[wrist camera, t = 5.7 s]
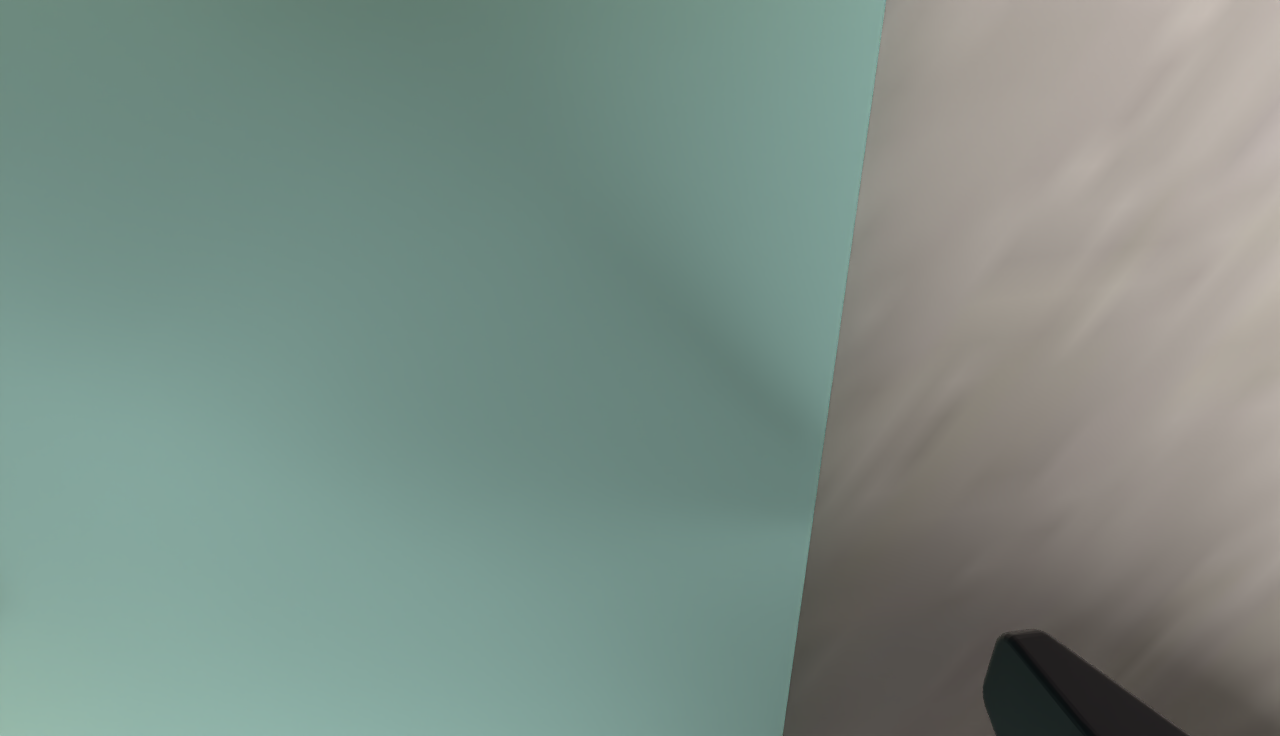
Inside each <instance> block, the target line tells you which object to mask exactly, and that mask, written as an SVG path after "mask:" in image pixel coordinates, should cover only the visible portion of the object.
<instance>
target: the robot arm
mask: <svg viewBox="0 0 1280 736" xmlns="http://www.w3.org/2000/svg"><path fill="white" fill-rule="evenodd" d="M983 698H984V703H985V707H986V710H987V713H988V715H989V718H990V721H991V723H992V726H993V729H994V731H995V734H996V736H1190V735H1189V734H1188V733H1186V732H1185V731H1183V730H1182V729H1181V728H1179V727H1178V726H1176V725H1175V724H1174V723H1172V722H1171V721H1169V720H1168V719H1167V718H1165V717H1164V716H1162V715H1161V714H1160V713H1158V712H1157V711H1155V710H1154V709H1153V708H1151V707H1150V706H1148V705H1147V704H1146V703H1144V702H1143V701H1141V700H1140V699H1139V698H1137V697H1136V696H1134V695H1133V694H1132V693H1130V692H1129V691H1127V690H1126V689H1125V688H1123V687H1122V686H1120V685H1119V684H1118V683H1116V682H1115V681H1113V680H1112V679H1111V678H1109V677H1108V676H1106V675H1105V674H1104V673H1102V672H1101V671H1099V670H1098V669H1097V668H1095V667H1094V666H1092V665H1091V664H1090V663H1088V662H1087V661H1085V660H1084V659H1083V658H1081V657H1080V656H1078V655H1077V654H1076V653H1074V652H1073V651H1071V650H1070V649H1069V648H1067V647H1066V646H1064V645H1063V644H1062V643H1060V642H1059V641H1057V640H1056V639H1055V638H1053V637H1052V636H1050V635H1049V634H1047V633H1045V632H1043V631H1041V630H1037V629H1028V630H1021V631H1014V632H1007V633H1003V634H1002V635H1001V636H1000V637H999V638H998V639H997V641H996V643H995V647H994V650H993V653H992V657H991V660H990V663H989V666H988V670H987V673H986V676H985V679H984V684H983Z"/></svg>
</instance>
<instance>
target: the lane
mask: <svg viewBox="0 0 1280 736" xmlns="http://www.w3.org/2000/svg"><path fill="white" fill-rule="evenodd" d="M885 5H886V0H0V736H783V729H784V722H785V715H786V708H787V701H788V694H789V686H790V679H791V672H792V665H793V658H794V651H795V644H796V637H797V630H798V623H799V615H800V608H801V601H802V594H803V587H804V580H805V573H806V566H807V559H808V551H809V544H810V537H811V530H812V523H813V516H814V509H815V502H816V495H817V488H818V480H819V473H820V466H821V459H822V452H823V445H824V438H825V431H826V424H827V417H828V409H829V402H830V395H831V388H832V381H833V374H834V367H835V360H836V353H837V345H838V338H839V331H840V324H841V317H842V310H843V303H844V296H845V289H846V282H847V274H848V267H849V260H850V253H851V246H852V239H853V232H854V225H855V218H856V211H857V203H858V196H859V189H860V182H861V175H862V168H863V161H864V154H865V147H866V139H867V132H868V125H869V118H870V111H871V104H872V97H873V90H874V83H875V76H876V68H877V61H878V54H879V47H880V40H881V33H882V26H883V19H884V12H885Z"/></svg>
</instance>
